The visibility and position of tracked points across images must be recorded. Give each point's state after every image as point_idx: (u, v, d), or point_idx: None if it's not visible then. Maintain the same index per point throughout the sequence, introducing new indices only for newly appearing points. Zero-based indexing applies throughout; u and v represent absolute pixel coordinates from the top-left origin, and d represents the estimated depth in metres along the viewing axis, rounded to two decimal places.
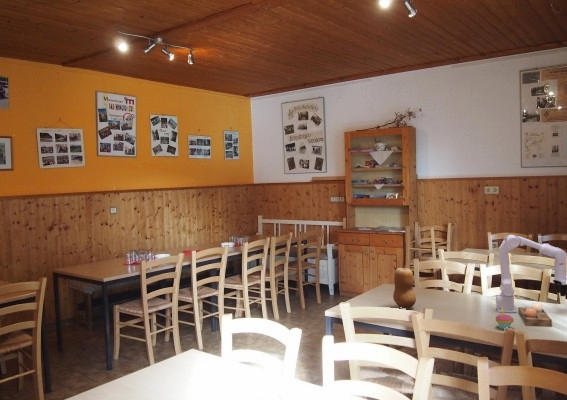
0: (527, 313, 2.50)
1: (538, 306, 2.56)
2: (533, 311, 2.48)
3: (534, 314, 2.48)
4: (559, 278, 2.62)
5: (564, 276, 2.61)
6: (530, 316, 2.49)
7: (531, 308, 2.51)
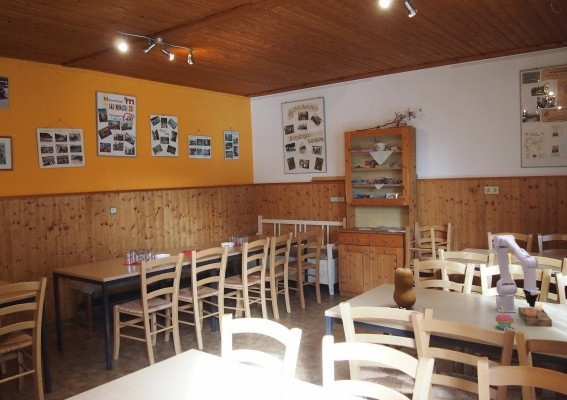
0: (527, 313, 2.50)
1: (538, 306, 2.56)
2: (533, 311, 2.48)
3: (534, 314, 2.48)
4: (528, 288, 2.48)
5: (533, 286, 2.47)
6: (530, 316, 2.49)
7: (531, 308, 2.51)
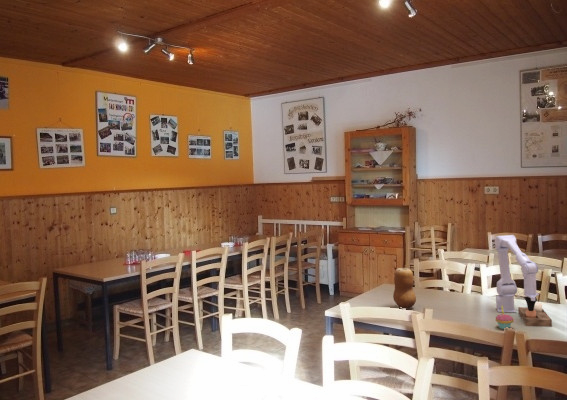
0: (527, 315, 2.50)
1: (538, 306, 2.56)
2: (533, 313, 2.48)
3: (534, 316, 2.48)
4: (528, 294, 2.48)
5: (534, 291, 2.47)
6: None
7: None
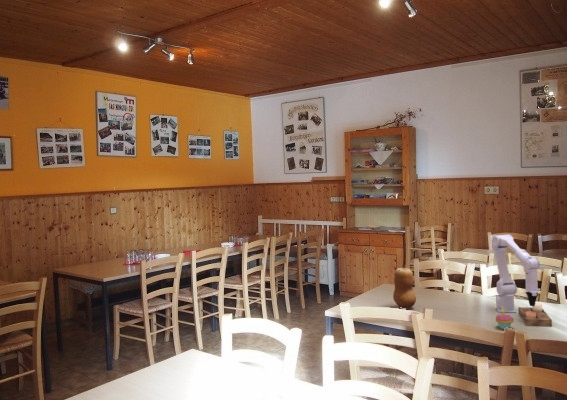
0: (527, 316, 2.50)
1: (538, 306, 2.56)
2: (533, 314, 2.48)
3: (534, 317, 2.48)
4: (530, 289, 2.50)
5: (535, 287, 2.49)
6: None
7: (531, 311, 2.51)
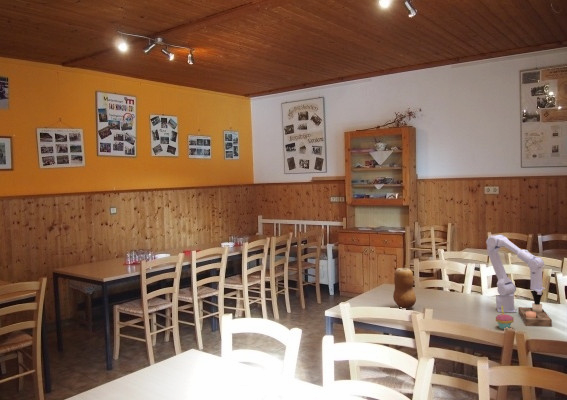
0: (527, 316, 2.50)
1: (538, 306, 2.56)
2: (533, 314, 2.48)
3: (534, 317, 2.48)
4: (535, 288, 2.56)
5: (540, 286, 2.55)
6: None
7: (531, 311, 2.51)
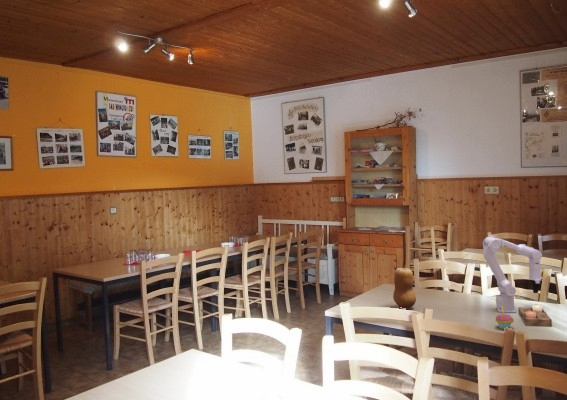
0: (527, 316, 2.50)
1: (538, 308, 2.56)
2: (533, 314, 2.48)
3: (534, 317, 2.48)
4: (533, 277, 2.70)
5: (538, 275, 2.69)
6: None
7: (531, 311, 2.51)
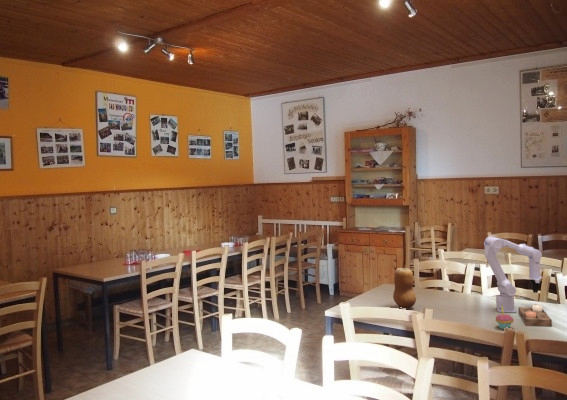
0: (527, 316, 2.50)
1: (538, 308, 2.56)
2: (533, 314, 2.48)
3: (534, 317, 2.48)
4: (533, 277, 2.71)
5: (538, 275, 2.71)
6: None
7: (531, 311, 2.51)
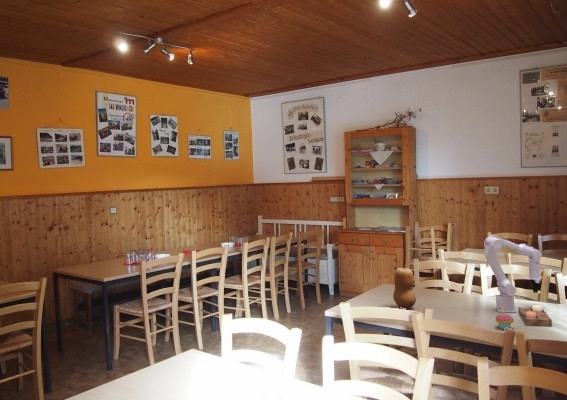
0: (527, 316, 2.50)
1: (538, 308, 2.56)
2: (533, 314, 2.48)
3: (534, 317, 2.48)
4: (533, 277, 2.71)
5: (538, 275, 2.71)
6: None
7: (531, 311, 2.51)
